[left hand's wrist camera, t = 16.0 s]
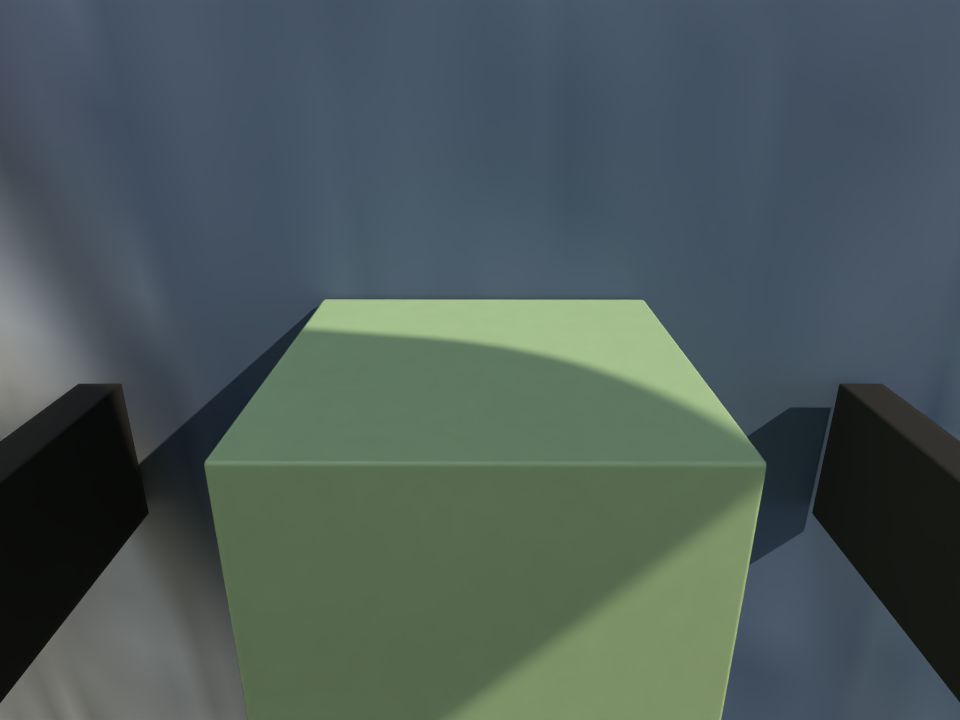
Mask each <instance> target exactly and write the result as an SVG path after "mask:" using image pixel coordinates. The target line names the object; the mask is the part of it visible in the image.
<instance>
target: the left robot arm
mask: <svg viewBox="0 0 960 720" xmlns="http://www.w3.org/2000/svg"><path fill="white" fill-rule="evenodd" d="M812 513H813V515H814V516H815V517H816V519H817V520H818V521H819V522H820V524H821V525H822V526H823V527H824V529H825V530H826V531H827V533H828V534H829V535H830V536H831V538H832V539H833V540H834V542H835V543H836V544H837V545H838V547H839V548H840V549H841V551H842V552H843V553H844V554H845V556H846V557H847V558H848V560H849V561H850V562H851V563H852V565H853V566H854V567H855V569H856V570H857V571H858V572H859V574H860V575H861V576H862V577H863V579H864V580H865V581H866V583H867V584H868V585H869V586H870V588H871V589H872V590H873V592H874V593H875V594H876V595H877V597H878V598H879V599H880V601H881V602H882V603H883V604H884V606H885V607H886V608H887V610H888V611H889V612H890V613H891V615H892V616H893V617H894V619H895V620H896V621H897V622H898V624H899V625H900V626H901V627H902V629H903V630H904V631H905V633H906V634H907V635H908V636H909V638H910V639H911V640H912V642H913V643H914V644H915V645H916V647H917V648H918V649H919V651H920V652H921V653H922V654H923V656H924V657H925V658H926V660H927V661H928V662H929V663H930V665H931V666H932V667H933V668H934V670H935V671H936V672H937V674H938V675H939V676H940V677H941V679H942V680H943V681H944V683H945V684H946V685H947V686H948V688H949V689H950V690H951V692H952V693H953V694H954V695H955V697H956V698H957V699H958V701H959V702H960V441H959V440H958V439H956V438H955V437H954V436H952V435H951V434H949V433H948V432H947V431H945V430H944V429H943V428H941V427H940V426H939V425H937V424H936V423H935V422H933V421H932V420H930V419H929V418H928V417H926V416H925V415H924V414H922V413H921V412H920V411H918V410H917V409H916V408H914V407H913V406H911V405H910V404H909V403H907V402H906V401H905V400H903V399H902V398H901V397H899V396H898V395H897V394H895V393H894V392H892V391H891V390H890V389H888V388H887V387H886V386H884V385H883V384H840V385H839V390H838V394H837V399H836V404H835V408H834V413H833V418H832V423H831V427H830V432H829V437H828V441H827V446H826V451H825V456H824V460H823V465H822V470H821V474H820V479H819V484H818V489H817V493H816V498H815V503H814V507H813V512H812ZM147 514H148V508H147V504H146V499H145V494H144V489H143V485H142V480H141V475H140V471H139V466H138V461H137V456H136V452H135V447H134V442H133V437H132V433H131V428H130V423H129V419H128V414H127V409H126V404H125V400H124V395H123V390H122V385H121V384H78V385H76V386H75V387H74V388H72V389H71V390H70V391H68V392H67V393H66V394H64V395H63V396H62V397H60V398H59V399H57V400H56V401H55V402H53V403H52V404H51V405H49V406H48V407H47V408H45V409H44V410H43V411H41V412H40V413H38V414H37V415H36V416H34V417H33V418H32V419H30V420H29V421H28V422H26V423H25V424H24V425H22V426H21V427H19V428H18V429H17V430H15V431H14V432H13V433H11V434H10V435H9V436H7V437H6V438H5V439H3V440H2V441H0V703H1V701H2V700H3V699H4V698H5V696H6V695H7V694H8V693H9V691H10V690H11V689H12V687H13V686H14V685H15V684H16V682H17V681H18V680H19V678H20V677H21V676H22V675H23V673H24V672H25V671H26V669H27V668H28V667H29V666H30V664H31V663H32V662H33V660H34V659H35V658H36V657H37V655H38V654H39V653H40V651H41V650H42V649H43V648H44V646H45V645H46V644H47V643H48V641H49V640H50V639H51V637H52V636H53V635H54V634H55V632H56V631H57V630H58V628H59V627H60V626H61V625H62V623H63V622H64V621H65V619H66V618H67V617H68V616H69V614H70V613H71V612H72V610H73V609H74V608H75V607H76V605H77V604H78V603H79V601H80V600H81V599H82V598H83V596H84V595H85V594H86V593H87V591H88V590H89V589H90V587H91V586H92V585H93V584H94V582H95V581H96V580H97V578H98V577H99V576H100V575H101V573H102V572H103V571H104V569H105V568H106V567H107V566H108V564H109V563H110V562H111V560H112V559H113V558H114V557H115V555H116V554H117V553H118V551H119V550H120V549H121V548H122V546H123V545H124V544H125V542H126V541H127V540H128V539H129V537H130V536H131V535H132V534H133V532H134V531H135V530H136V528H137V527H138V526H139V525H140V523H141V522H142V521H143V519H144V518H145V517H146V516H147Z"/></svg>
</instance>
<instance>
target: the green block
mask: <svg viewBox="0 0 960 720" xmlns="http://www.w3.org/2000/svg"><path fill="white" fill-rule="evenodd" d="M204 466H205V472H206V478H207V484H208V490H209V496H210V501H211V507H212V513H213V519H214V525H215V531H216V536H217V542H218V548H219V554H220V560H221V566H222V571H223V577H224V583H225V589H226V595H227V601H228V606H229V612H230V618H231V624H232V630H233V636H234V641H235V647H236V653H237V659H238V665H239V671H240V676H241V682H242V688H243V694H244V700H245V706H246V711H247V717H248V720H721V717H722V712H723V706H724V701H725V695H726V689H727V684H728V678H729V673H730V667H731V662H732V656H733V651H734V645H735V639H736V634H737V628H738V623H739V617H740V612H741V606H742V601H743V595H744V589H745V584H746V578H747V573H748V567H749V562H750V556H751V551H752V545H753V539H754V534H755V528H756V523H757V517H758V512H759V506H760V501H761V495H762V489H763V484H764V478H765V473H766V467H767V465H766V462H765V461H764V459H763V458H762V457H761V455H760V454H759V453H758V451H757V450H756V449H755V447H754V446H753V445H752V443H751V442H750V441H749V439H748V438H747V437H746V435H745V434H744V433H743V431H742V430H741V429H740V427H739V426H738V425H737V424H736V422H735V421H734V420H733V418H732V417H731V416H730V414H729V413H728V412H727V410H726V409H725V408H724V406H723V405H722V404H721V402H720V401H719V400H718V398H717V397H716V396H715V394H714V393H713V392H712V390H711V389H710V388H709V386H708V385H707V384H706V382H705V381H704V380H703V378H702V377H701V376H700V375H699V373H698V372H697V371H696V369H695V368H694V367H693V365H692V364H691V363H690V361H689V360H688V359H687V357H686V356H685V355H684V353H683V352H682V351H681V349H680V348H679V347H678V345H677V344H676V343H675V341H674V340H673V339H672V337H671V336H670V335H669V333H668V332H667V331H666V329H665V328H664V327H663V326H662V324H661V323H660V322H659V320H658V319H657V318H656V316H655V315H654V314H653V312H652V311H651V310H650V308H649V307H648V306H647V304H646V303H645V302H644V301H643V300H330V299H326V300H324V301H323V302H322V303H321V305H320V306H319V307H318V309H317V310H316V311H315V313H314V314H313V316H312V317H311V318H310V320H309V321H308V322H307V324H306V325H305V326H304V328H303V329H302V331H301V332H300V333H299V335H298V336H297V337H296V339H295V340H294V341H293V343H292V344H291V345H290V347H289V348H288V350H287V351H286V352H285V354H284V355H283V356H282V358H281V359H280V360H279V362H278V363H277V364H276V366H275V367H274V369H273V370H272V371H271V373H270V374H269V375H268V377H267V378H266V379H265V381H264V382H263V383H262V385H261V386H260V388H259V389H258V390H257V392H256V393H255V394H254V396H253V397H252V398H251V400H250V401H249V402H248V404H247V405H246V407H245V408H244V409H243V411H242V412H241V413H240V415H239V416H238V417H237V419H236V420H235V422H234V423H233V424H232V426H231V427H230V428H229V430H228V431H227V432H226V434H225V435H224V436H223V438H222V439H221V441H220V442H219V443H218V445H217V446H216V447H215V449H214V450H213V451H212V453H211V454H210V455H209V457H208V458H207V460H206V461H205V464H204Z"/></svg>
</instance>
